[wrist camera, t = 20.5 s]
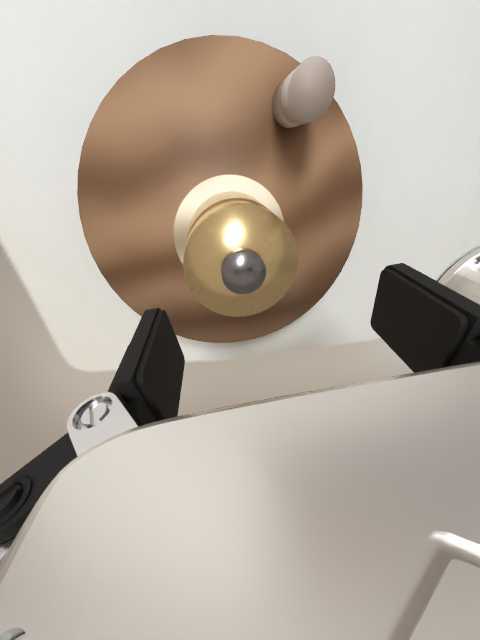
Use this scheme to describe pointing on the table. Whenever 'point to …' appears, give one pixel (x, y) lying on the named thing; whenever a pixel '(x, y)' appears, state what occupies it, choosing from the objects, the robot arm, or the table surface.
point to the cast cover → (238, 255)
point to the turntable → (217, 173)
